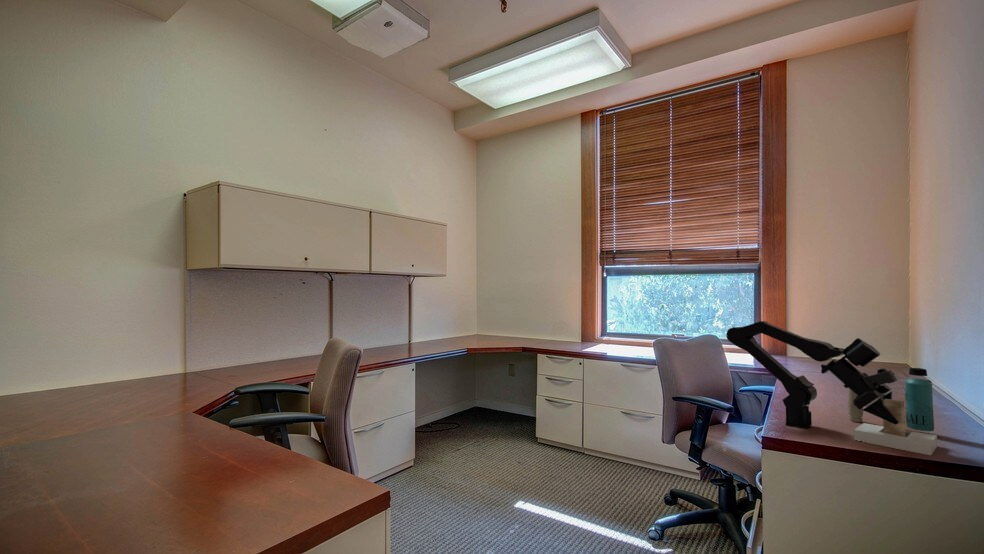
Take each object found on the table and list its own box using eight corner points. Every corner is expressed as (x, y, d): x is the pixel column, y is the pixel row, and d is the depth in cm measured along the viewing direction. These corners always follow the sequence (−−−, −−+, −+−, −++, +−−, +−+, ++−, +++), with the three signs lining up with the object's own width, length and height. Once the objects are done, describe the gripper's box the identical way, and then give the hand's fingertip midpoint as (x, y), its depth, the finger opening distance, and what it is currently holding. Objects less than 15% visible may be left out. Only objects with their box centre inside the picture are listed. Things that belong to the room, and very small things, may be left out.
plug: (884, 443, 127) (882, 400, 127) (887, 440, 129) (885, 398, 130) (903, 446, 124) (901, 403, 124) (905, 443, 126) (903, 401, 127)
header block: (854, 440, 129) (853, 429, 129) (864, 432, 137) (863, 423, 137) (931, 455, 117) (930, 443, 117) (937, 446, 124) (936, 435, 124)
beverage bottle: (929, 432, 138) (926, 367, 139) (939, 437, 132) (936, 370, 133) (902, 429, 141) (899, 365, 142) (911, 434, 135) (908, 368, 136)
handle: (871, 423, 147) (869, 378, 148) (849, 422, 148) (847, 377, 149) (862, 420, 152) (860, 375, 153) (841, 418, 153) (839, 375, 154)
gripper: (866, 362, 125) (922, 409, 116) (880, 357, 137) (932, 399, 128) (833, 386, 131) (883, 432, 121) (849, 379, 142) (896, 421, 133)
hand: (900, 420), depth 126 cm, fingers open, 9 cm apart
